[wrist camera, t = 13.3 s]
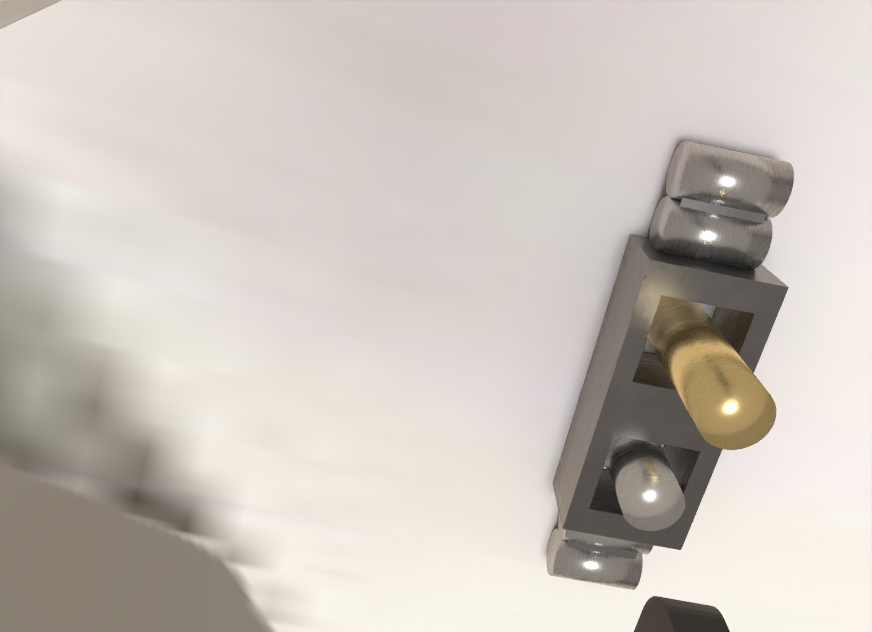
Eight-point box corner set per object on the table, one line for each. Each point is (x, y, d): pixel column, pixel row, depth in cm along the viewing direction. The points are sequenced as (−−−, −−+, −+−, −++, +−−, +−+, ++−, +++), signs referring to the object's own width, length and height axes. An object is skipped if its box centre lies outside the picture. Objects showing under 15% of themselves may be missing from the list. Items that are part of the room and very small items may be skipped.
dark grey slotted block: (662, 133, 34) (701, 156, 29) (793, 160, 34) (857, 188, 29) (531, 551, 44) (542, 630, 38) (635, 569, 44) (661, 650, 38)
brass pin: (650, 283, 37) (712, 376, 28) (707, 295, 37) (788, 391, 28) (632, 336, 38) (686, 442, 29) (688, 347, 38) (759, 455, 29)
